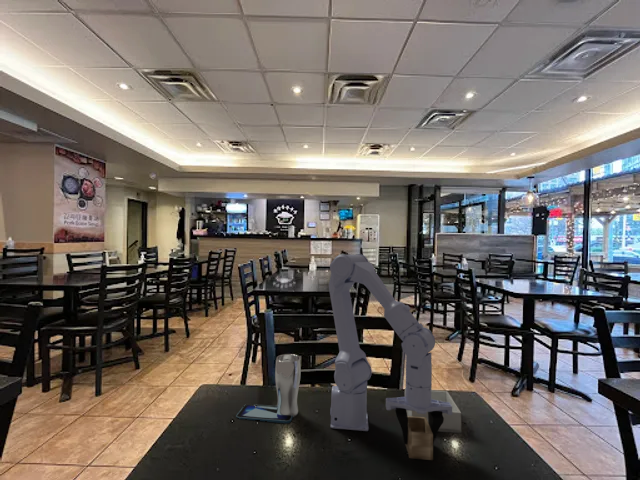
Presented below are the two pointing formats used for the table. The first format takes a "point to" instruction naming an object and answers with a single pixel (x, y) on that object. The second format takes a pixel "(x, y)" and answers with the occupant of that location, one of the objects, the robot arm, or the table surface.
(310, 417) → the table surface
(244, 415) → the smartphone
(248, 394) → the table surface
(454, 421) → the storage crate
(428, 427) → the wood crate
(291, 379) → the beer glass
